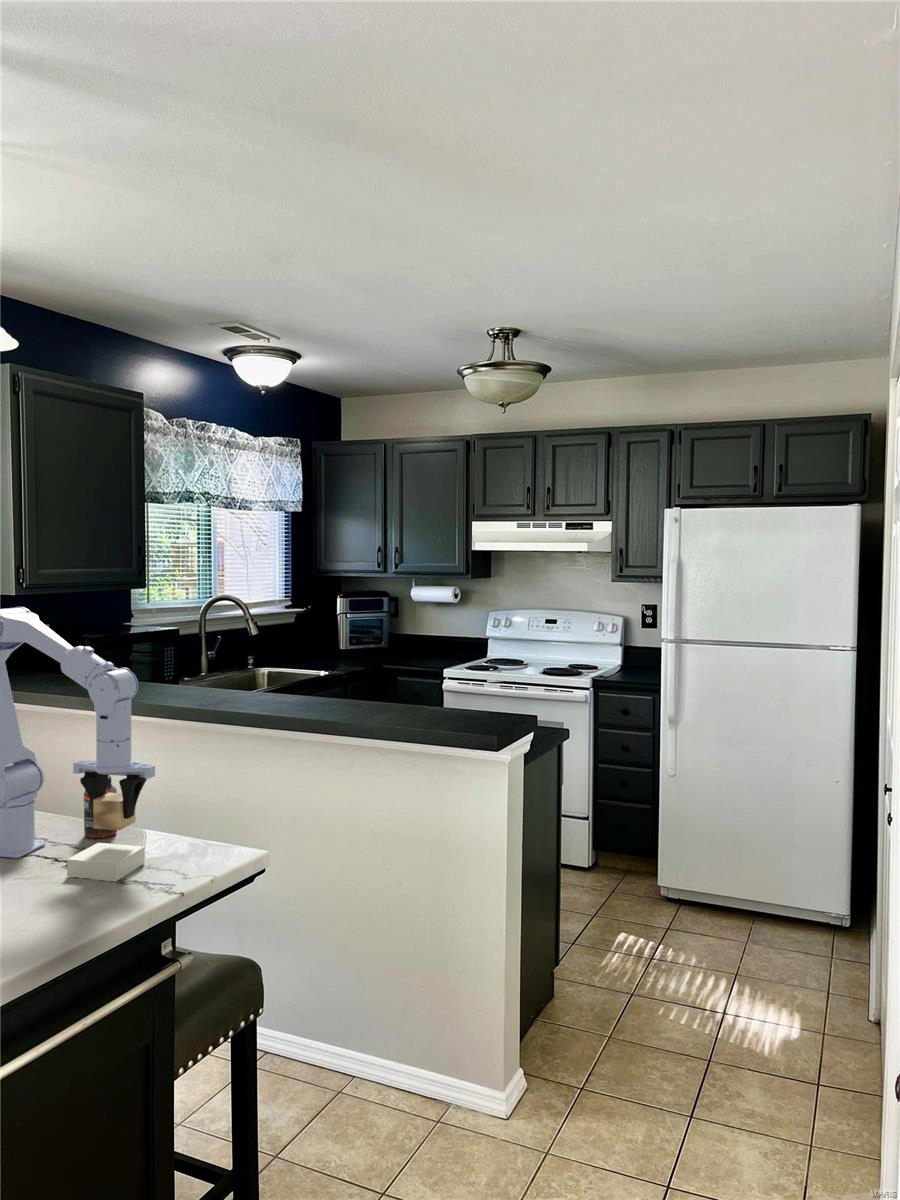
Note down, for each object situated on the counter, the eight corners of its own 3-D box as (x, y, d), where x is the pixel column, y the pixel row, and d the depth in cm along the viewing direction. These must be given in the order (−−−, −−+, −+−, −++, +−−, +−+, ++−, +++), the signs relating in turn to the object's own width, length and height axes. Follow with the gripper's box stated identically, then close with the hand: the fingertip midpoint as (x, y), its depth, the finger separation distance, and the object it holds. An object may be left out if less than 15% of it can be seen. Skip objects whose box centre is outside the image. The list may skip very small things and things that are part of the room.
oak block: (93, 828, 156) (93, 799, 155) (109, 820, 161) (109, 792, 160) (119, 830, 155) (119, 801, 154) (135, 822, 160) (135, 794, 159)
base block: (67, 876, 151) (66, 859, 151) (98, 859, 160) (98, 842, 160) (115, 881, 149) (115, 863, 149) (144, 863, 158) (144, 846, 158)
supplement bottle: (122, 830, 176) (122, 773, 176) (108, 840, 170) (108, 781, 170) (93, 829, 177) (93, 772, 176) (78, 838, 171) (77, 780, 170)
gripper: (62, 741, 154) (62, 819, 155) (140, 746, 151) (140, 825, 152) (86, 733, 161) (86, 808, 162) (161, 737, 158) (161, 814, 159)
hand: (114, 816), depth 157 cm, fingers closed on oak block, 5 cm apart
